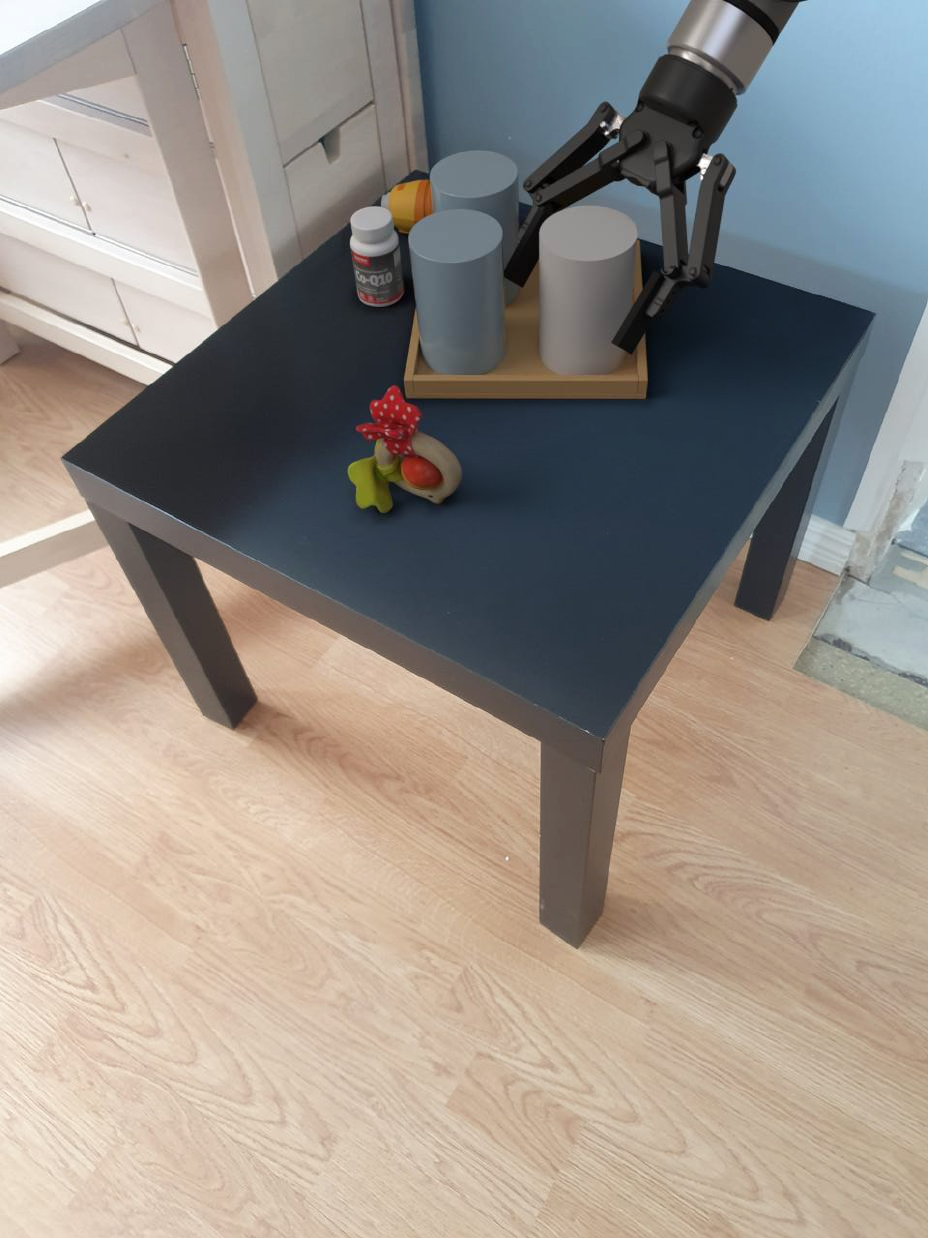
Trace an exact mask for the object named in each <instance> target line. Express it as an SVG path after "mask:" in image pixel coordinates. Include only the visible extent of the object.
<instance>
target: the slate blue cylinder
mask: <svg viewBox="0 0 928 1238" xmlns="http://www.w3.org/2000/svg"><path fill="white" fill-rule="evenodd" d="M407 241H408V249H409V258H410V266H411V267H410V268H411V276H412V283H413V293H414V302H415V310H416V312H417V320H418V329H419V338H420V347H421V355H422V359H423V361H424V363H425V364H426V366H427V367H428V368H429V369H430V370H432V371H433V372H435V373H437V374H439V375H483V374H486V373H488V372H490V371H491V370H493V369H495V368H496V367H497V366H498V365H499V364H500V363H501V362H502V360H503V359H504V357H505V355H506V317H505V284H504V251H503V230H502V227H501V225H500V224H499V222H498V221H497V220H496V219H494V218H493V217H491V216H490V215H488V214H485V213H483V212H479V211H475V210H469V209H452V210H445V211H440V212H437V213H434V214H431V215H429V216H427V217H425V218H423V219H421V220H420V221H418V222H417V223H416V224H415V225H414V226H413V228H412V229H411V231H410V233H409V234H408V239H407Z"/></svg>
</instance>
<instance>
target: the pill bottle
mask: <svg viewBox="0 0 928 1238" xmlns="http://www.w3.org/2000/svg"><path fill="white" fill-rule="evenodd" d="M349 221H350V228H351V236H350V239H349V247H350V254H351V260H352V266H353V273H354V279H355V286H356V293H357V296H358V298H359V301H360V302H362V303H363V304H364V305H366V306H370V307H375V308H384V307H389V306H391V305H394V304H395V303H397V302H399V301H400V300H401V299H402V298H403V296H404V294H405V283H404V275H403V274H404V273H403V267H402V257H401V249H400V240H399V235H398V232H397V231H396V230H394V229H395V225H394V224H393V218H392V214H391V212H390V211H389V210H387V209H386V208H383V207H381V206H376V205H373V206H366V207H362V208H360V209H357V210H356V211H355V212H354V213H353V214H352V215H351V217H350V220H349Z"/></svg>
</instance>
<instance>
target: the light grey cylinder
mask: <svg viewBox="0 0 928 1238" xmlns="http://www.w3.org/2000/svg"><path fill="white" fill-rule="evenodd" d="M633 220H634V219H632V218H631V217H630V216H628V215H627V214H625V213H624V212H622V211H619V210H617V209H615V208H612V207H606V206H601V205H578V206H577V205H576V206H572V207H567V208H565V209H563V210H561V211H559V212H557V213H555V214H553V215H551V216H550V217H549V218H547V219H546V220H545V221H544V223H543V224H542V226H541V228H540V232H539V354H540V358H541V360H542V362H543V363H544V364H545V365H546V366H547V367H548V368H549V369H550V370H552V371H553V372H555V373H557V374H560V375H606V374H609V373H611V372H613V371H614V370H616V369H617V368H618V367H620V366H621V364H622V363H623V362H624V360H625V358H626V356H627V352H626V351H624V350H622V349H621V348H619V347H617V346H616V345H614V344H612V343H611V342H612V340H613V338H614V337H615V335H616V333H617V332H618V330H619V328H620V327H621V325H622V323H623V322H624V320H625V318H626V316H627V315H628V313H629V311H630V310H631V304H632V292H633V281H634V270H635V258H636V247H637V240H638V235H639V234H638V233H639V230H638V227H637V225H636V223H635V221H633Z"/></svg>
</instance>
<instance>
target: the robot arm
mask: <svg viewBox="0 0 928 1238" xmlns="http://www.w3.org/2000/svg"><path fill="white" fill-rule="evenodd" d="M807 1H808V0H690V1H689V3H688V4H687V6H686V8H685V9H684V11H683V13H682V15H681V17H680V18H679V20H678V22H677V23H676V25H675V27H674V28H673V31H672V32H671V34H670V36H669V37H668V39H667V41H666V44H665V46H666V51H667V53H665V54H663V55H661V56H658V58H657V60H656V62H655V64H654V65H653V66H652V68H651V70H650V72H649V73H648V76H647V78H646V79H645V81H644V83H643V84H642V86H641V88H640V90H639V93H638V97H637V102H636V105H635V108H634V110H632V112H631V113H630V114H629V115H627V116H625V115H623V114H622V113H620V112H618V111H617V109H616V108H615V107H614V106H613V105H612V104H611V103H609V101H603V102H601V103H600V104H599V105H598V107H597V108H596V109H595V111H594V113H593V115H592V116H591V117H590V118H589V120H588V122H587V123H586V124H585V125H584V126H583V127H582V128H581V129H579V131H577V132H576V133H575V134H574V135H573V136H572V137H571V138H569V139H568V140H567V141H566V142H565V143H564V144H563V145H562V146H561V147H560V148H559V149H557V150H556V151H555V152H554V153H553V154H552V155H551V156H550V157H548V158H547V159H546V160H545V161H544V162H543V163H542V164H541V165H539V167H537V168H536V169H535V170H534V171H533V172H532V173H531V174H530V175H529V176H528V177H526V178H525V180H524V181H523V183H522V188H523V190H524V191H525V192H526V193H527V194H528V195H529V197H530V198H531V200H532V206H531V208H530V210H529V212H528V214H527V216H526V217H525V219H524V221H523V223H522V225H521V227H519V232H518V236H517V239H518V240H519V241H520V242H519V244H518V246H517V248H516V249H515V251H514V253H513V255H512V257H511V259H510V260H509V262H508V264H507V266H506V268H505V270H504V277H505V278H506V279H508V280H510V281H511V282H513V283H515V284H516V285H518V286H520V287H522V288H523V287H524V285H525V283H526V282H527V280H528V278H529V276H530V274H531V273H532V271H533V269H534V267H535V265H536V264H537V262H538V260H539V232H540V228H541V226H542V224H543V223H544V221H545V220H546V219H547V218H549V217H550V216H551V215H553V214H555V213H557V212H559V211H561V210H564V209H567V208H570V206H572V205H574V204H576V203H578V202H579V201H581V200H583V199H585V198H587V197H588V196H590V195H592V194H594V193H596V192H597V191H599V190H601V189H603V188H605V187H607V186H608V185H610V184H612V183H614V182H622V181H624V180H627V181H628V182H629V183H630V184H632V185H635V186H637V187H643V188H645V189H647V191H648V192H650V193H651V194H653V195H655V196H657V197H658V199H659V210H660V225H661V226H660V227H661V241H662V256H663V269H662V268H660V272H661V273H659V272H657V271H655V270H652V273H651V274H650V276H649V278H648V280H647V282H645V285H644V286H643V287H642V291H641V293H640V295H639V296H638V298H637V300H636V301H635V303H634V305H633V306H632V308H631V310H630V311H629V313H628V315H627V316H626V318H625V320H624V322H623V323H622V325H621V327H620V328H619V330H618V332H617V333H616V335H615V337H614V338H613V340H612V342H611V343H612V344H614V345H616V346H617V347H619V348H621V349H622V350H624V351H626V352H628V353H629V354H631V355H632V354H633V352H634V350H635V349H636V347H637V345H638V344H639V342H640V340H641V339H642V337H643V335H644V334H645V335H646V332H647V331H648V329H649V327H650V325H651V324H652V322H653V321H654V320H655V321H656V322H659V323H660V322H661V321H662V320H663V319H664V318H665V317H666V315H667V314H668V312H669V310H670V308H671V307H672V305H673V304H674V302H675V301H676V299H677V297H678V295H679V294H680V292H681V291H682V290H683V289H685V288H686V287H695V288H699V289H702V290H704V289H705V290H706V289H707V288H708V287H709V286H710V285H711V283H712V280H713V275H714V268H715V260H716V256H717V249H718V244H719V243H718V242H719V236H720V230H721V224H722V219H723V218H722V217H723V213H724V206H725V199H726V195H727V193H728V191H729V189H730V187H731V185H732V184H733V183H732V182H733V181H734V179H735V177H736V174H737V169H736V167H735V165H733V163H731V161H730V160H729V159H728V158H727V157H726V155H725V154H723V153H721V152H720V153H719V152H718V153H716V154H715V155H710V154H709V151H710V149H711V147H712V145H714V144H715V143H717V141H718V140H719V138H720V137H721V135H722V133H723V132H724V131H725V128H726V127H727V125H728V124H729V122H730V120H731V118H732V117H733V115H734V113H735V112H736V110H737V108H738V99H737V96H742V95H744V94H746V92H747V90H748V89H749V87H750V85H751V84H752V82H753V81H754V79H755V77H756V75H757V74H758V72H759V70H760V69H761V67H762V65H763V64H764V62H765V60H766V59H767V58H768V56H769V54H770V52H771V50H772V49H773V47H774V45H775V44H776V43H777V40H778V39H779V37H780V35H781V34H782V32H783V30H784V29H785V27H786V26H787V24H788V22H789V20H790V18H791V17H792V16H793V14H794V13H795V11H796V9H797V8H798V6H799V4H800V3H802V2H807ZM616 139H618V141H617V142H616V143H614V144H612V145H610V146H608V147H607V148H605V147H606V146H607V145H608V144H609V143H610V141H611V140H616ZM604 148H605V149H604ZM596 155H598V157H596V158H594V157H595V156H596ZM592 159H593V160H592ZM699 173H700V174H699ZM698 174H699V180H700V181H701V182H700V184H699V190H698V195H697V201H696V207H695V214H694V220H693V227H692V231H691V239H690V244H689V242H688V228H687V227H688V226H687V212H686V211H687V209H686V206H687V204H688V196H687V195H688V193H687V181H688V180H689V179H691V178H693V177H695V176H696V175H698Z"/></svg>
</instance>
